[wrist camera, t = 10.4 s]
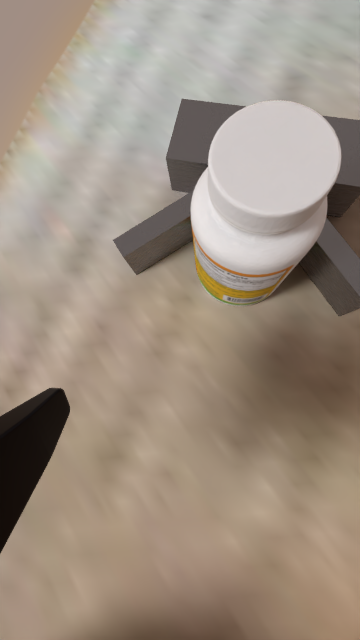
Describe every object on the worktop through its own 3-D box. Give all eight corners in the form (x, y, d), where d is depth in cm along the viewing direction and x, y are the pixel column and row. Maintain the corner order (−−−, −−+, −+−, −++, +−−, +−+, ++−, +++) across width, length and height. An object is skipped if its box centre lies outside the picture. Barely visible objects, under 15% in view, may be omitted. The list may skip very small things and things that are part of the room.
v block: (353, 319, 17) (384, 308, 14) (124, 272, 19) (108, 254, 16) (377, 164, 18) (409, 126, 16) (162, 135, 20) (154, 95, 17)
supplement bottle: (239, 210, 19) (273, 48, 9) (300, 267, 18) (409, 150, 8) (178, 265, 19) (149, 157, 9) (237, 325, 18) (275, 274, 8)
